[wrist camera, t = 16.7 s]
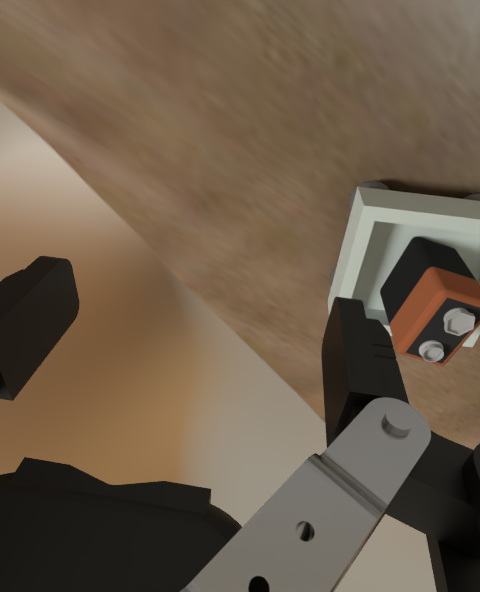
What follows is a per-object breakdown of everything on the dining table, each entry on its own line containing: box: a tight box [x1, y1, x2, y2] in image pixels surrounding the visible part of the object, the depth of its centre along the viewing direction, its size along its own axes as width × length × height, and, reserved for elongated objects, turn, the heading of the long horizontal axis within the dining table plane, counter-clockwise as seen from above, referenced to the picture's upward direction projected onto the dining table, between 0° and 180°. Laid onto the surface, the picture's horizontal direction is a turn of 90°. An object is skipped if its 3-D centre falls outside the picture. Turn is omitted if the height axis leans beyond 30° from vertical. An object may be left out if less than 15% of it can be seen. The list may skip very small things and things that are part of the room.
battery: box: [380, 237, 480, 366], centre depth 33 cm, size 4×7×10 cm, turn 164°
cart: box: [328, 181, 480, 347], centre depth 38 cm, size 14×13×8 cm
